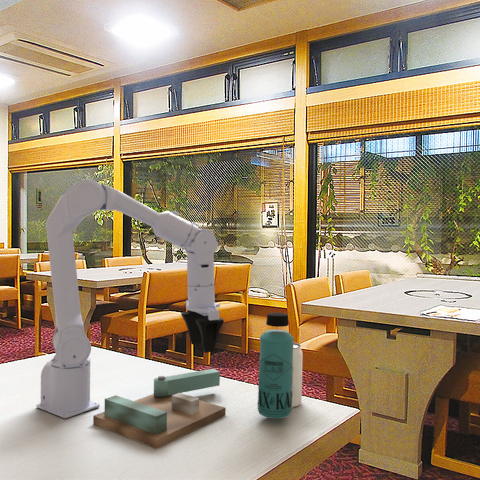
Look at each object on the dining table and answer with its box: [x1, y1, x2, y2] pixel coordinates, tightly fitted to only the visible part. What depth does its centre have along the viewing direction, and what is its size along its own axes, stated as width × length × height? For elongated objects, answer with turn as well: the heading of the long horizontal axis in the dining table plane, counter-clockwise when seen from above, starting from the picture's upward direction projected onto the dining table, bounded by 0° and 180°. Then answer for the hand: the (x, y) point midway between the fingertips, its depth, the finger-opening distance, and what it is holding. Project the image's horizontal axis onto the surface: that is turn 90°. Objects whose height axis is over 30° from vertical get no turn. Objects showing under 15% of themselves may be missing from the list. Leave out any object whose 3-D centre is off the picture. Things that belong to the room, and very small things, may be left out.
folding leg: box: [153, 368, 221, 397], centre depth 103 cm, size 14×3×4 cm, turn 124°
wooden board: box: [92, 393, 227, 450], centre depth 92 cm, size 16×18×4 cm
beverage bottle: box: [256, 312, 295, 419], centre depth 92 cm, size 6×7×20 cm
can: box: [291, 341, 304, 409], centre depth 101 cm, size 6×6×12 cm
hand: (202, 347), depth 107 cm, fingers open, 7 cm apart
